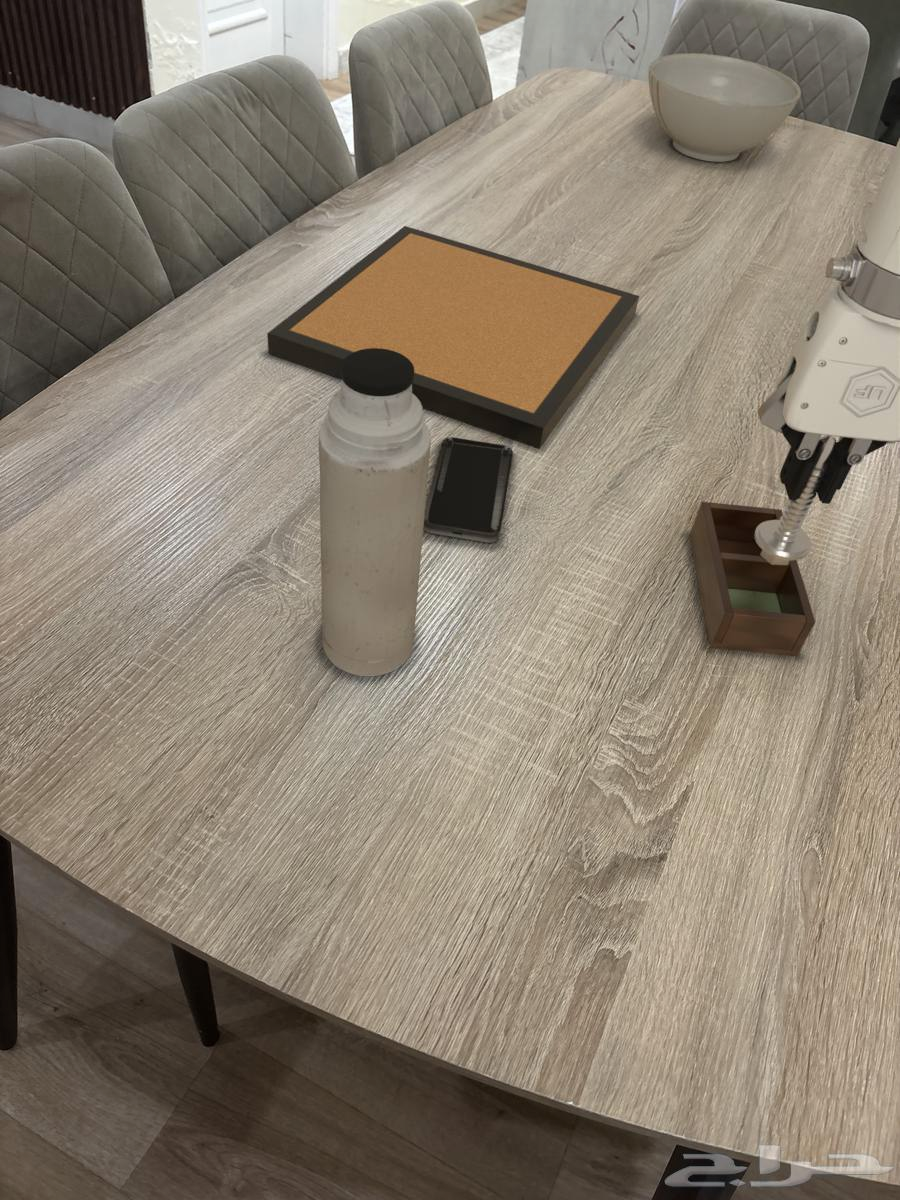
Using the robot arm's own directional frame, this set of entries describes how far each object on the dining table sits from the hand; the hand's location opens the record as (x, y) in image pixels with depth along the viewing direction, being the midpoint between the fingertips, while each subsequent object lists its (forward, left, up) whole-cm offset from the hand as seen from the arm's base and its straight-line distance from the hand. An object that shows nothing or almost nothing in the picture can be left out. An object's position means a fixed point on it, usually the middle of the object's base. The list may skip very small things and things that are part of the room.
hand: (805, 490), depth 77 cm
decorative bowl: (-13, -122, -16) cm, 123 cm away
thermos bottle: (+35, +7, -16) cm, 39 cm away
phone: (+27, -15, -16) cm, 35 cm away
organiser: (0, -4, -16) cm, 16 cm away
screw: (0, 0, -8) cm, 8 cm away
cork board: (+29, -47, -16) cm, 57 cm away
